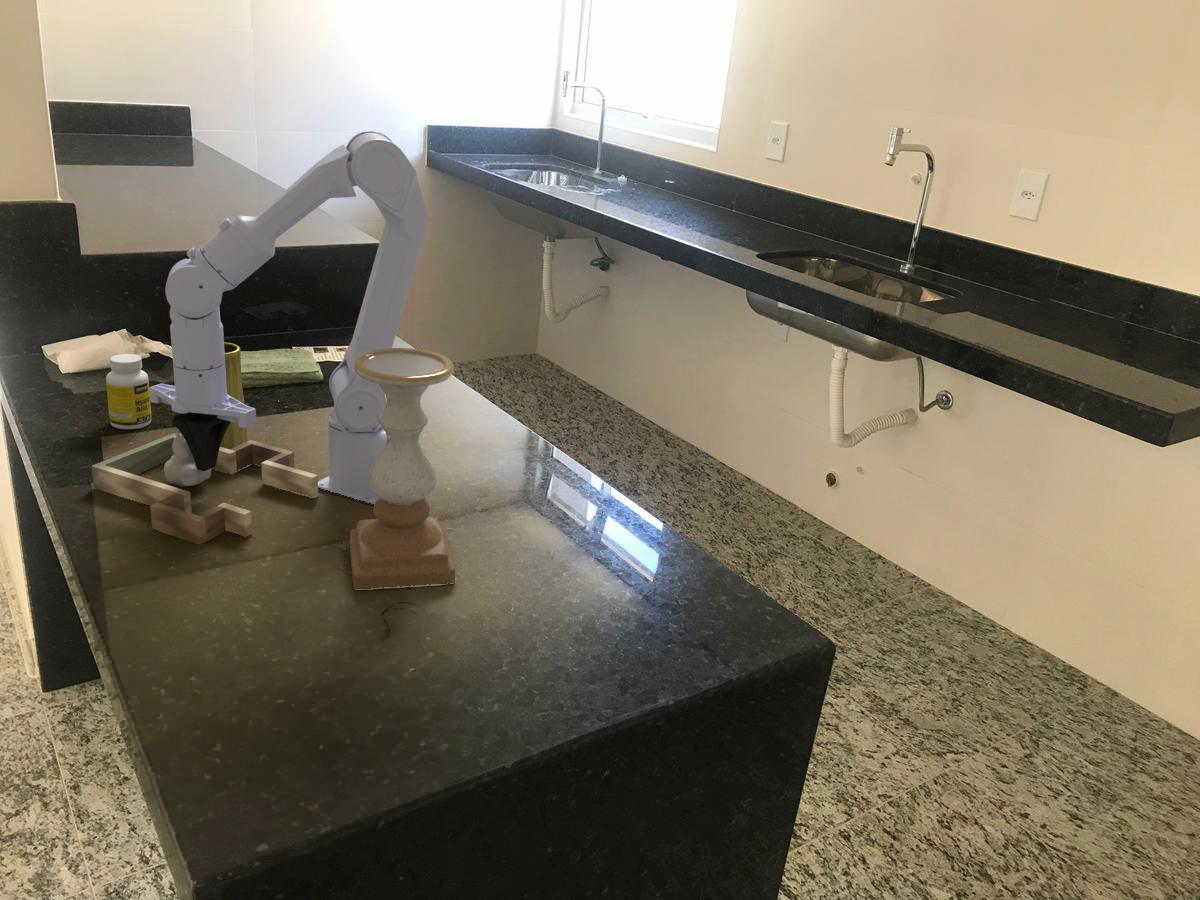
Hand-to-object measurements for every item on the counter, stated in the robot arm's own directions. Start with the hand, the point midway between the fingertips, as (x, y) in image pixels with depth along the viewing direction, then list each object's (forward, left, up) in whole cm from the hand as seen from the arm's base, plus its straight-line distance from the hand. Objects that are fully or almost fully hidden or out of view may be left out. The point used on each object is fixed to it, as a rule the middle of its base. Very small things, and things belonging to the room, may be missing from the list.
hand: (206, 467), depth 120 cm
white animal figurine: (+3, 0, -4) cm, 5 cm away
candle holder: (-30, +2, -4) cm, 30 cm away
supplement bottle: (+24, -11, -4) cm, 27 cm away
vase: (+8, -12, -4) cm, 15 cm away
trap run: (0, 0, -3) cm, 3 cm away
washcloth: (+24, -39, -4) cm, 46 cm away
